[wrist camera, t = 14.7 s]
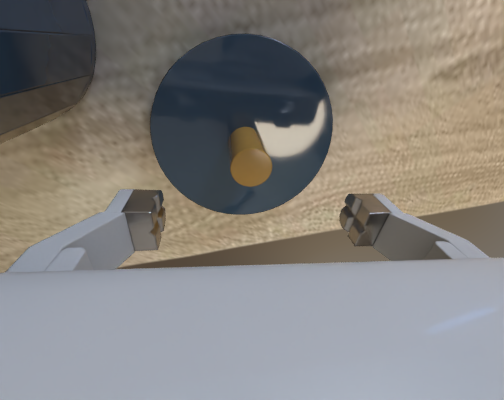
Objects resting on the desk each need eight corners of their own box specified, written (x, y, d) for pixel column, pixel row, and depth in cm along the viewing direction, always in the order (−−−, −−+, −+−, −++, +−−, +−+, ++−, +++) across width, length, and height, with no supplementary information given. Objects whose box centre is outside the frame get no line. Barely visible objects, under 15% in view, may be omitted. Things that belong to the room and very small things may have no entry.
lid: (345, 37, 14) (397, 35, 10) (311, 203, 21) (333, 243, 17) (132, 30, 13) (91, 24, 9) (170, 210, 20) (157, 254, 16)
